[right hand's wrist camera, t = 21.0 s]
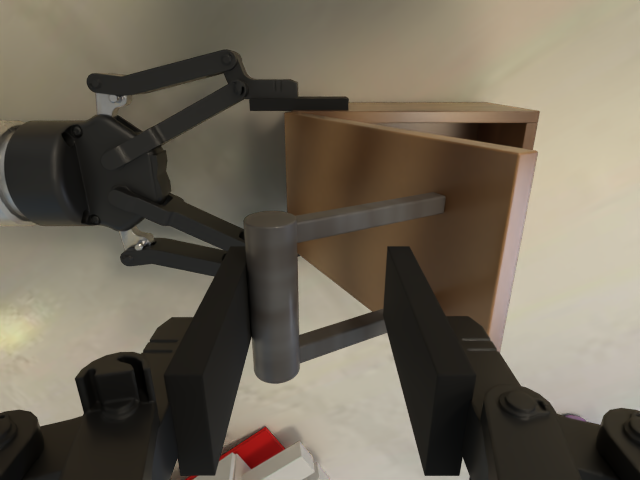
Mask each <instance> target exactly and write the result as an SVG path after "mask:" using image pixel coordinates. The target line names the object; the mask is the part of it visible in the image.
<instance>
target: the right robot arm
mask: <svg viewBox="0 0 640 480" xmlns="http://www.w3.org/2000/svg"><path fill="white" fill-rule="evenodd" d="M383 318H384V321H385V325H386V329H387V333H388V337H389V341H390V344H391V348H392V352H393V356H394V360H395V364H396V367H397V371H398V375H399V379H400V383H401V387H402V390H403V394H404V398H405V402H406V406H407V409H408V413H409V417H410V421H411V425H412V429H413V432H414V436H415V440H416V444H417V448H418V452H419V455H420V459H421V463H422V467H423V471H424V475H425V476H459V475H460V469H461V463H462V457H463V459H464V462H465V464H466V467H467V470H468V472H469V475H470V478H469V480H640V411H638V410H633V409H625V408H618V409H613V410H609V411H608V412H607V413H606V414H605V415H604V416H603V419H602V422H601V425H599V424H594V423H590V422H586V421H581V420H577V419H573V418H568V417H565V416H562V415H559V414H556V412H555V410H554V408H553V407H552V405H551V404H550V402H548V401H547V400H546V399H545V398H543V397H542V396H541V395H540V394H538V393H536V392H534V391H532V390H530V389H528V388H526V387H522V386H521V385H520V384H519V382H518V381H517V379H516V378H515V376H514V375H513V373H512V371H511V370H510V368H509V367H508V365H507V364H506V362H505V361H504V359H503V357H502V356H501V354H500V353H499V351H497V348H496V347H495V345H494V344H493V342H492V341H490V337H489V336H488V334H487V333H486V331H485V330H484V328H483V326H481V325H480V324H478V323H477V322H476V321H474V320H473V319H472V318H470V317H469V316H446V315H445V313H444V312H443V310H442V308H441V306H440V304H439V302H438V300H437V298H436V296H435V294H434V292H433V290H432V289H431V287H430V285H429V283H428V281H427V279H426V277H425V275H424V273H423V271H422V269H421V267H420V265H419V264H418V262H417V260H416V258H415V256H414V254H413V252H412V250H411V248H410V246H387V259H386V275H385V290H384V306H383ZM251 337H252V333H251V319H250V305H249V291H248V277H247V263H246V249H245V246H230V248H229V250H228V252H227V254H226V256H225V258H224V260H223V262H222V264H221V265H220V267H219V269H218V271H217V273H216V275H215V277H214V279H213V281H212V283H211V285H210V287H209V289H208V290H207V292H206V294H205V296H204V298H203V300H202V302H201V304H200V306H199V308H198V310H197V312H196V313H195V315H194V317H172V318H170V319H169V320H168V321H166V322H165V323H164V324H162V325H161V326H159V327H158V328H157V330H156V331H155V333H154V334H153V336H152V338H151V339H150V342H148V344H147V345H146V347H145V348H144V350H143V353H141V354H138V353H135V352H119V353H115V354H110V355H106V356H104V357H102V358H99V359H97V360H95V361H93V362H91V363H90V364H89V365H87V366H86V367H84V368H83V369H82V370H81V371H80V372H79V374H78V375H77V376H76V378H75V381H76V384H77V388H78V392H79V396H80V399H81V403H82V407H83V411H84V414H83V416H81V417H77V418H74V419H71V420H66V421H62V422H58V423H53V424H49V425H45V426H40V425H39V422H38V419H37V417H36V416H35V415H34V414H33V413H31V412H29V411H24V410H14V411H6V412H2V413H0V480H171V478H170V477H171V475H172V472H173V469H174V466H175V464H176V461H177V458H178V463H179V469H180V475H181V476H215V475H216V471H217V467H218V463H219V459H220V455H221V452H222V448H223V444H224V440H225V436H226V432H227V429H228V425H229V421H230V417H231V413H232V409H233V406H234V402H235V398H236V394H237V390H238V386H239V383H240V379H241V375H242V371H243V367H244V364H245V360H246V356H247V352H248V348H249V344H250V341H251Z"/></svg>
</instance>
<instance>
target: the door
mask: <svg viewBox="0 0 640 480" xmlns="http://www.w3.org/2000/svg"><path fill="white" fill-rule="evenodd" d="M284 119H285V151H286V184H287V212H282V211H263V212H258V213H254V214H251V215H248V216H247V217H245V219H244V235H245V249H246V263H247V277H248V291H249V305H250V319H251V333H252V347H253V361H254V372H255V374H256V376H257V377H258V378H259V379H260V380H262V381H264V382H267V383H274V384H275V383H283V382H287V381H289V380H291V379H292V378H294V377H295V376H296V375H297V374H298V372H299V369H300V363H302V362H305V361H308V360H311V359H314V358H316V357H319V356H322V355H325V354H328V353H331V352H333V351H336V350H339V349H342V348H345V347H348V346H351V345H353V344H356V343H359V342H362V341H365V340H368V339H370V338H373V337H376V336H379V335H382V334H385V333H387V329H386V325H385V321H384V318H383V306H384V290H385V275H386V259H387V246H410V248H411V250H412V252H413V254H414V256H415V258H416V260H417V262H418V264H419V265H420V267H421V269H422V271H423V273H424V275H425V277H426V279H427V281H428V283H429V285H430V287H431V289H432V290H433V292H434V294H435V296H436V298H437V300H438V302H439V304H440V306H441V308H442V310H443V312H444V313H445V315H446V316H469V317H470V318H472V319H473V320H474V321H476V322H477V323H478V324H480V325H481V326H483V328H484V330H485V331H486V333H487V334H488V336H489V337H490V341H492V342H493V344H494V345H495V347H496V348H497V351H499V353H500V349H501V344H502V339H503V333H504V328H505V323H506V318H507V312H508V307H509V302H510V297H511V291H512V286H513V281H514V276H515V270H516V265H517V260H518V255H519V249H520V244H521V239H522V234H523V228H524V223H525V218H526V213H527V207H528V202H529V197H530V192H531V186H532V181H533V176H534V171H535V166H536V160H537V155H538V152H537V151H535V150H528V149H522V148H516V147H510V146H504V145H498V144H492V143H485V142H479V141H473V140H467V139H461V138H455V137H449V136H442V135H436V134H430V133H424V132H418V131H412V130H406V129H399V128H393V127H387V126H381V125H375V124H369V123H363V122H356V121H350V120H344V119H338V118H332V117H326V116H319V115H313V114H307V113H301V112H285V113H284ZM297 253H298V254H299V255H300V256H302V257H303V258H304V259H305V260H307V261H308V262H309V263H311V264H312V265H313V266H314V267H316V268H317V269H318V270H320V271H321V272H322V273H323V274H325V275H326V276H327V277H329V278H330V279H331V280H332V281H334V282H335V283H336V284H338V285H339V286H340V287H341V288H343V289H344V290H345V291H347V292H348V293H349V294H350V295H352V296H353V297H354V298H355V299H357V300H358V301H359V302H361V303H362V304H363V305H364V306H366V307H367V308H368V309H370V310H371V311H372V312H371V313H367V314H364V315H361V316H358V317H355V318H352V319H348V320H345V321H342V322H339V323H336V324H333V325H330V326H326V327H323V328H320V329H317V330H314V331H311V332H307V333H304V334H301V335H299V305H298V259H297Z"/></svg>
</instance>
